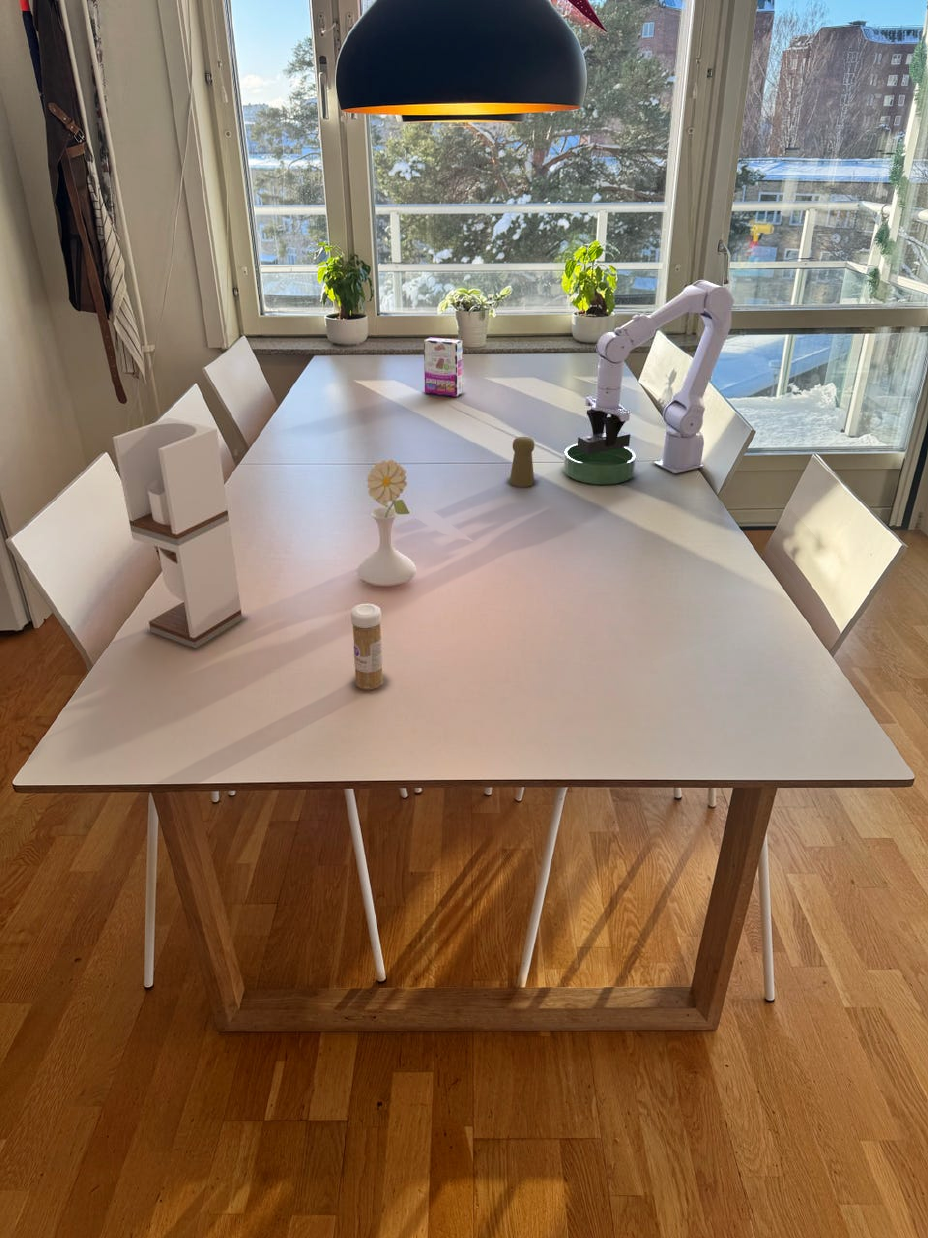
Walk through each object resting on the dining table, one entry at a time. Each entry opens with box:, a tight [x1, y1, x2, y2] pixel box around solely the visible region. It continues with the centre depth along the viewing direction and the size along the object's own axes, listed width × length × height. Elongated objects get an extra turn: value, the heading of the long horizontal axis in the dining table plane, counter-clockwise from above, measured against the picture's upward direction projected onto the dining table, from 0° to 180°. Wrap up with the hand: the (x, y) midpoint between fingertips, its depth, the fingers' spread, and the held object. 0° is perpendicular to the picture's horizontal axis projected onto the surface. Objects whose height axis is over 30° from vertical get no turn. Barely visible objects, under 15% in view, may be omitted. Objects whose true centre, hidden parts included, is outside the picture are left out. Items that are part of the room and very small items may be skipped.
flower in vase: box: [356, 459, 417, 588], centre depth 167 cm, size 13×11×25 cm
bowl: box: [563, 443, 637, 486], centre depth 222 cm, size 17×17×5 cm
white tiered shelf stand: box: [112, 417, 243, 649], centre depth 149 cm, size 11×11×35 cm
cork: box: [509, 436, 535, 488], centre depth 215 cm, size 6×6×11 cm
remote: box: [577, 429, 631, 454], centre depth 218 cm, size 12×4×3 cm, turn 120°
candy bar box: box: [423, 336, 464, 398], centre depth 277 cm, size 11×5×16 cm, turn 67°
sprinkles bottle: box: [350, 603, 384, 691], centre depth 140 cm, size 5×5×13 cm
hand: (603, 441), depth 218 cm, fingers closed on remote, 4 cm apart
